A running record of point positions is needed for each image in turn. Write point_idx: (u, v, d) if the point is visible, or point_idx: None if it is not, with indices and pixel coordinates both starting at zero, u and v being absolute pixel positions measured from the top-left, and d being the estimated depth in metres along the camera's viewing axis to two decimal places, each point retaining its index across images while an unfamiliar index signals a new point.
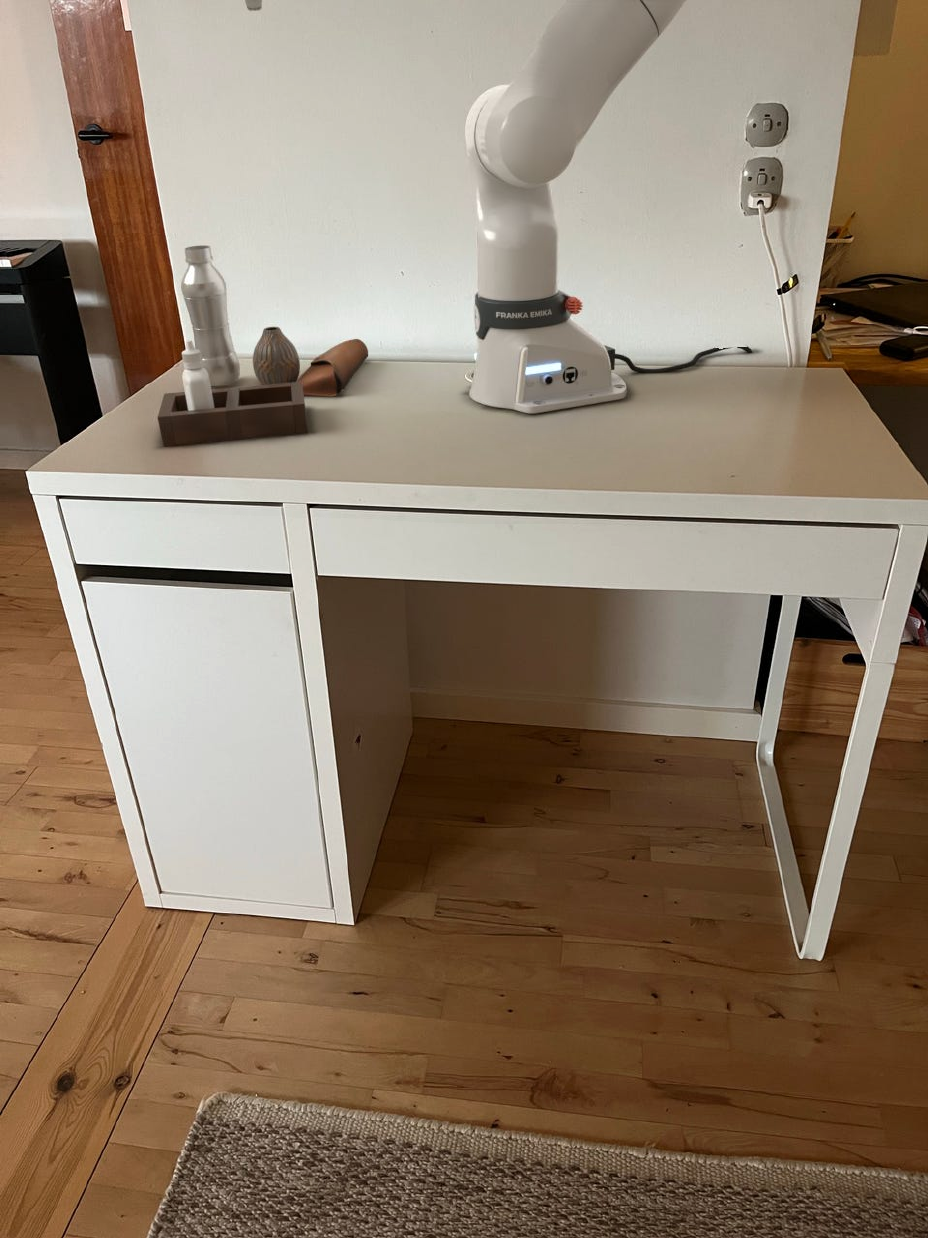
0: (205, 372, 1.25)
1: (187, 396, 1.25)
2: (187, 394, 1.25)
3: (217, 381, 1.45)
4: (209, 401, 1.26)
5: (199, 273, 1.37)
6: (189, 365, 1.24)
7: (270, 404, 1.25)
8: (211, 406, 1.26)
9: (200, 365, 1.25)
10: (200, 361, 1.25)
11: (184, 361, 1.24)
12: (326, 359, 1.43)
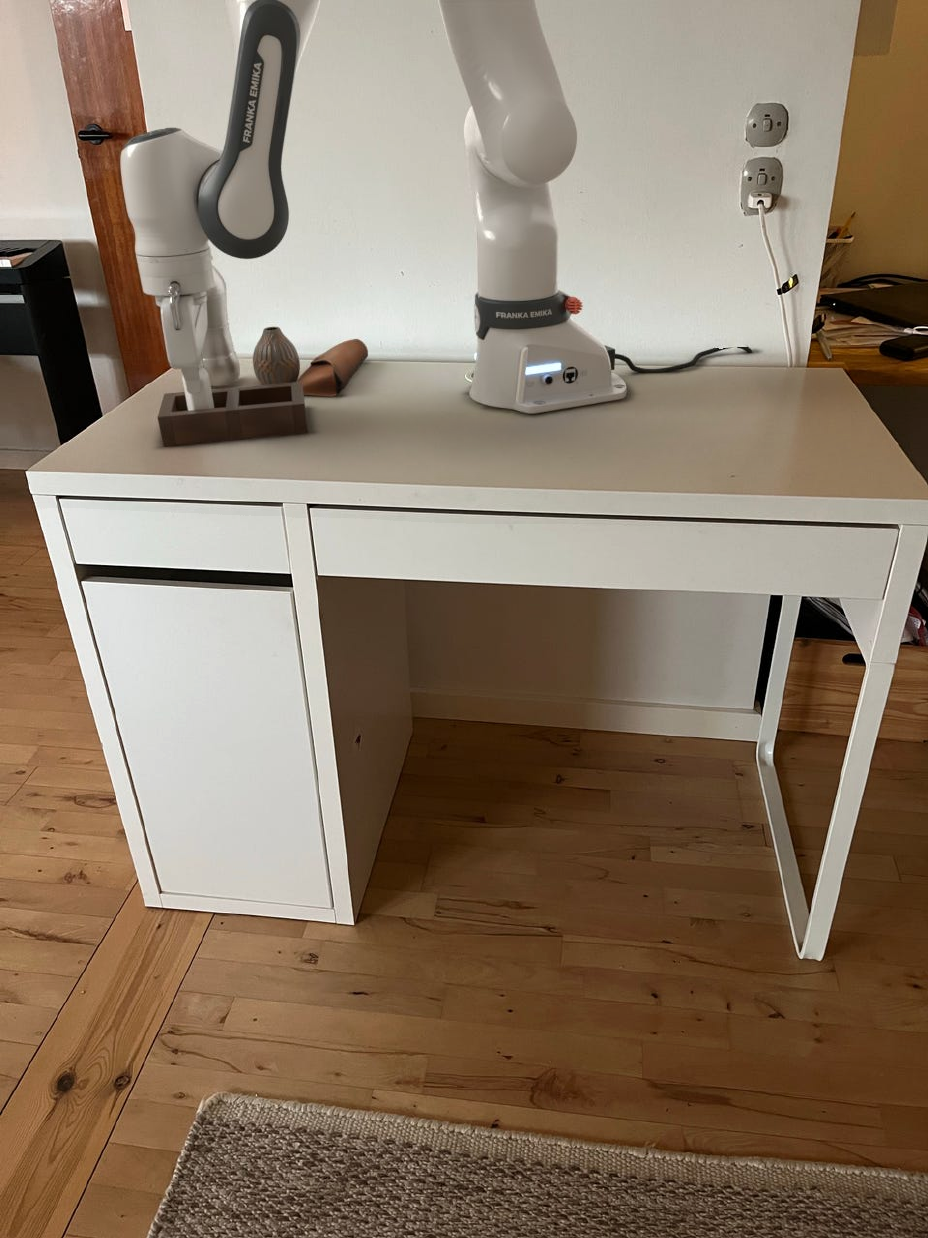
0: (205, 372, 1.25)
1: (187, 396, 1.25)
2: (187, 394, 1.25)
3: (217, 381, 1.45)
4: (209, 401, 1.26)
5: None
6: None
7: (270, 404, 1.25)
8: (211, 406, 1.26)
9: (200, 365, 1.25)
10: (200, 361, 1.25)
11: None
12: (326, 359, 1.43)
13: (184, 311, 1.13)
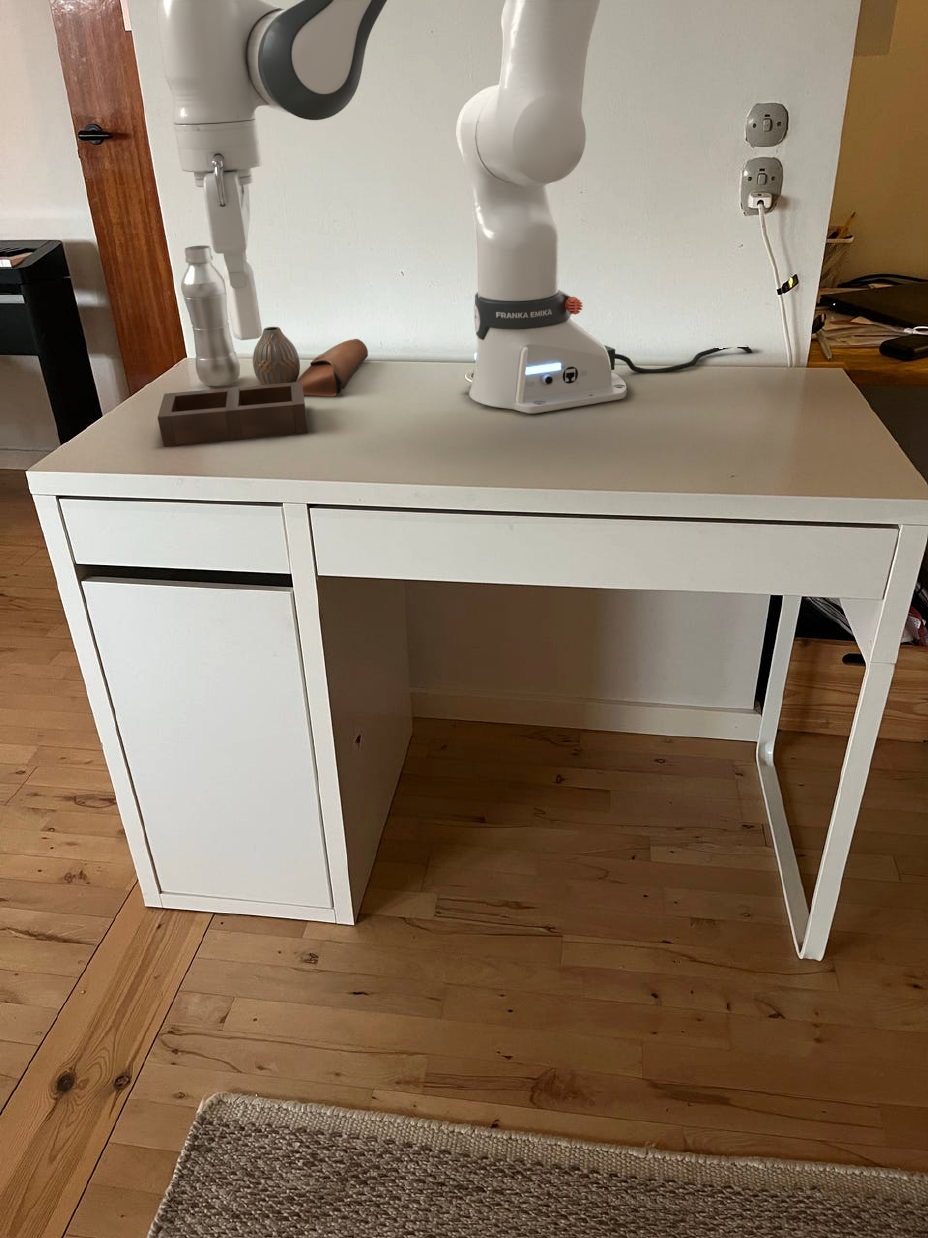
0: (249, 266, 1.12)
1: (229, 293, 1.12)
2: (229, 290, 1.11)
3: (217, 381, 1.45)
4: (254, 299, 1.12)
5: (199, 273, 1.37)
6: None
7: (270, 404, 1.25)
8: (256, 305, 1.13)
9: (244, 258, 1.11)
10: (244, 253, 1.11)
11: None
12: (326, 359, 1.43)
13: (231, 185, 1.00)
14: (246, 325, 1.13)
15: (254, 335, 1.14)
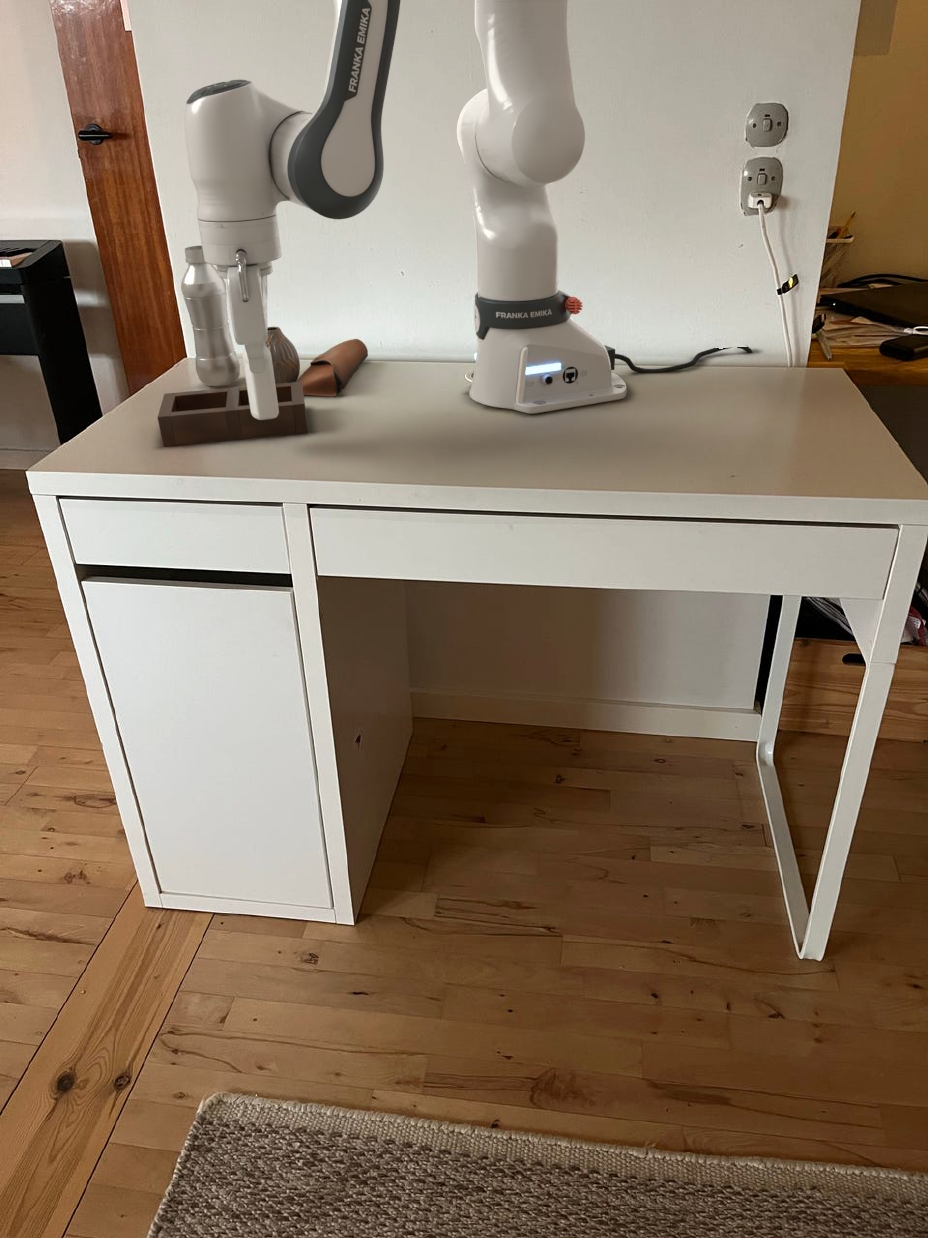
0: (268, 350, 1.15)
1: (248, 376, 1.16)
2: (248, 374, 1.15)
3: (217, 381, 1.45)
4: (272, 382, 1.16)
5: (199, 273, 1.37)
6: None
7: None
8: (273, 387, 1.17)
9: None
10: None
11: None
12: (326, 359, 1.43)
13: (253, 281, 1.03)
14: (264, 406, 1.17)
15: (271, 415, 1.18)
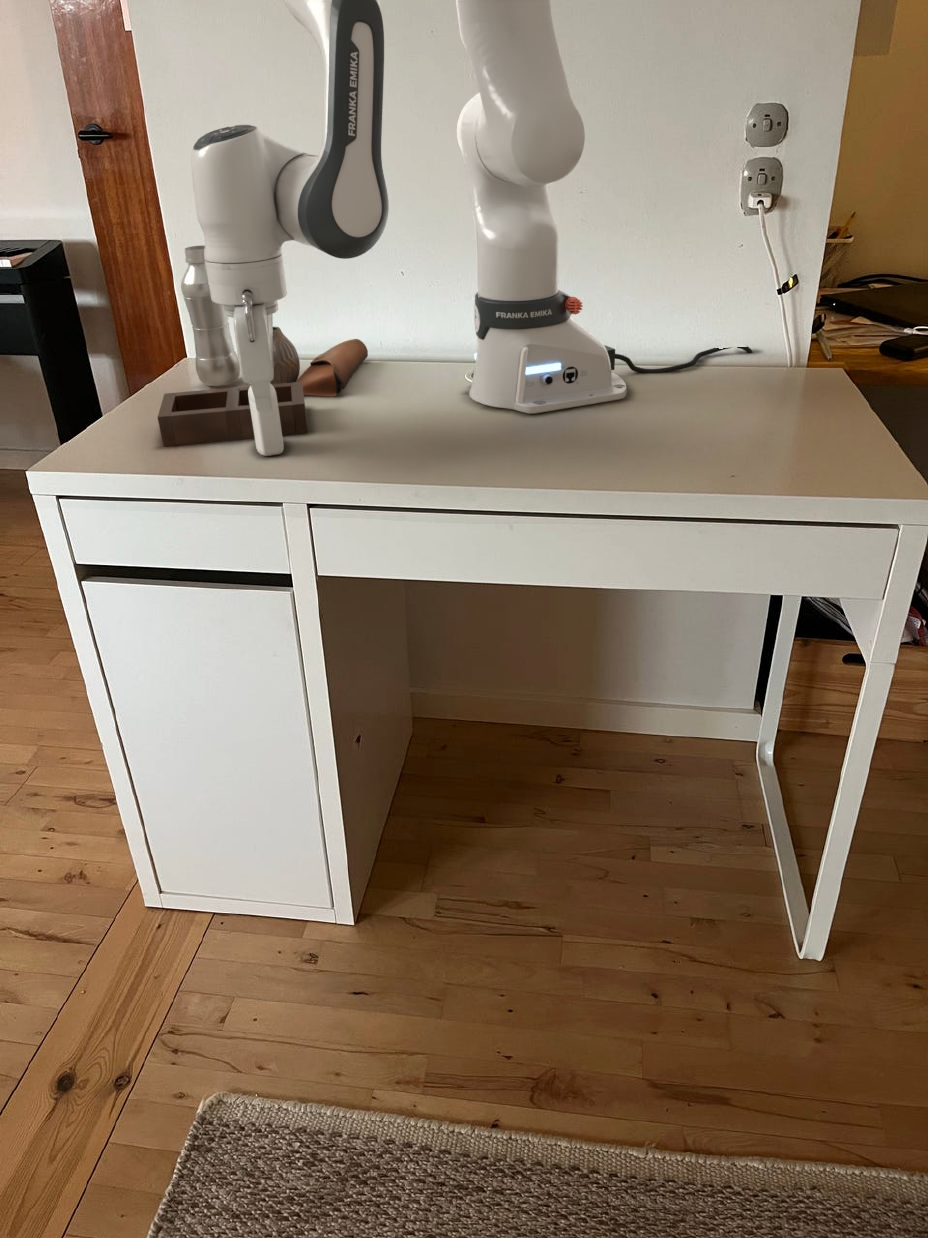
0: (273, 388, 1.18)
1: (253, 414, 1.18)
2: (254, 412, 1.18)
3: (217, 381, 1.45)
4: (277, 419, 1.18)
5: (199, 273, 1.37)
6: None
7: None
8: (278, 424, 1.19)
9: None
10: None
11: None
12: (326, 359, 1.43)
13: (259, 322, 1.06)
14: (269, 443, 1.19)
15: (276, 452, 1.20)
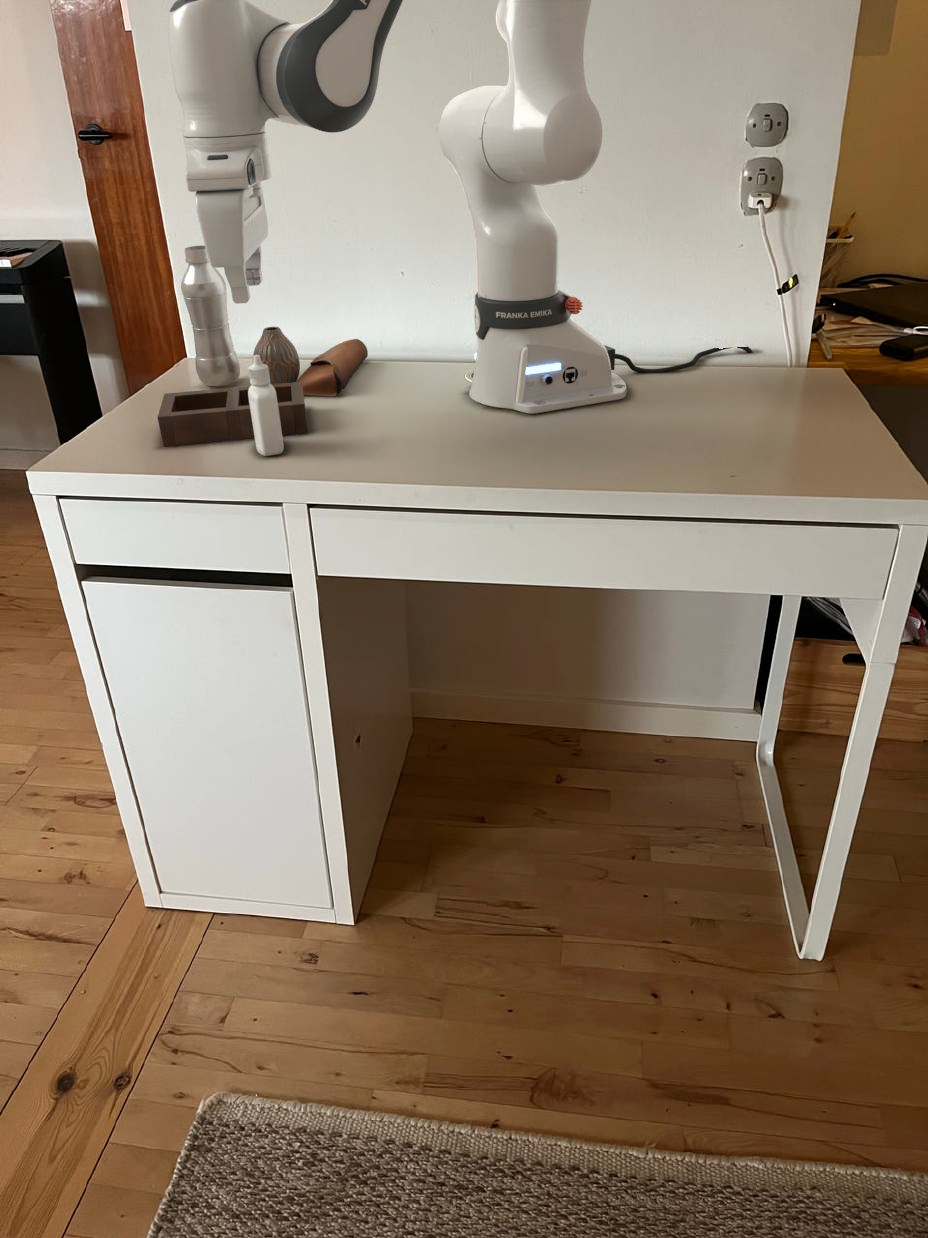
0: (273, 388, 1.18)
1: (253, 414, 1.18)
2: (254, 412, 1.18)
3: (217, 381, 1.45)
4: (277, 419, 1.18)
5: (199, 273, 1.37)
6: (256, 381, 1.17)
7: None
8: (278, 424, 1.19)
9: (268, 381, 1.17)
10: (268, 377, 1.17)
11: (251, 377, 1.17)
12: (326, 359, 1.43)
13: None
14: (269, 443, 1.19)
15: (276, 452, 1.20)
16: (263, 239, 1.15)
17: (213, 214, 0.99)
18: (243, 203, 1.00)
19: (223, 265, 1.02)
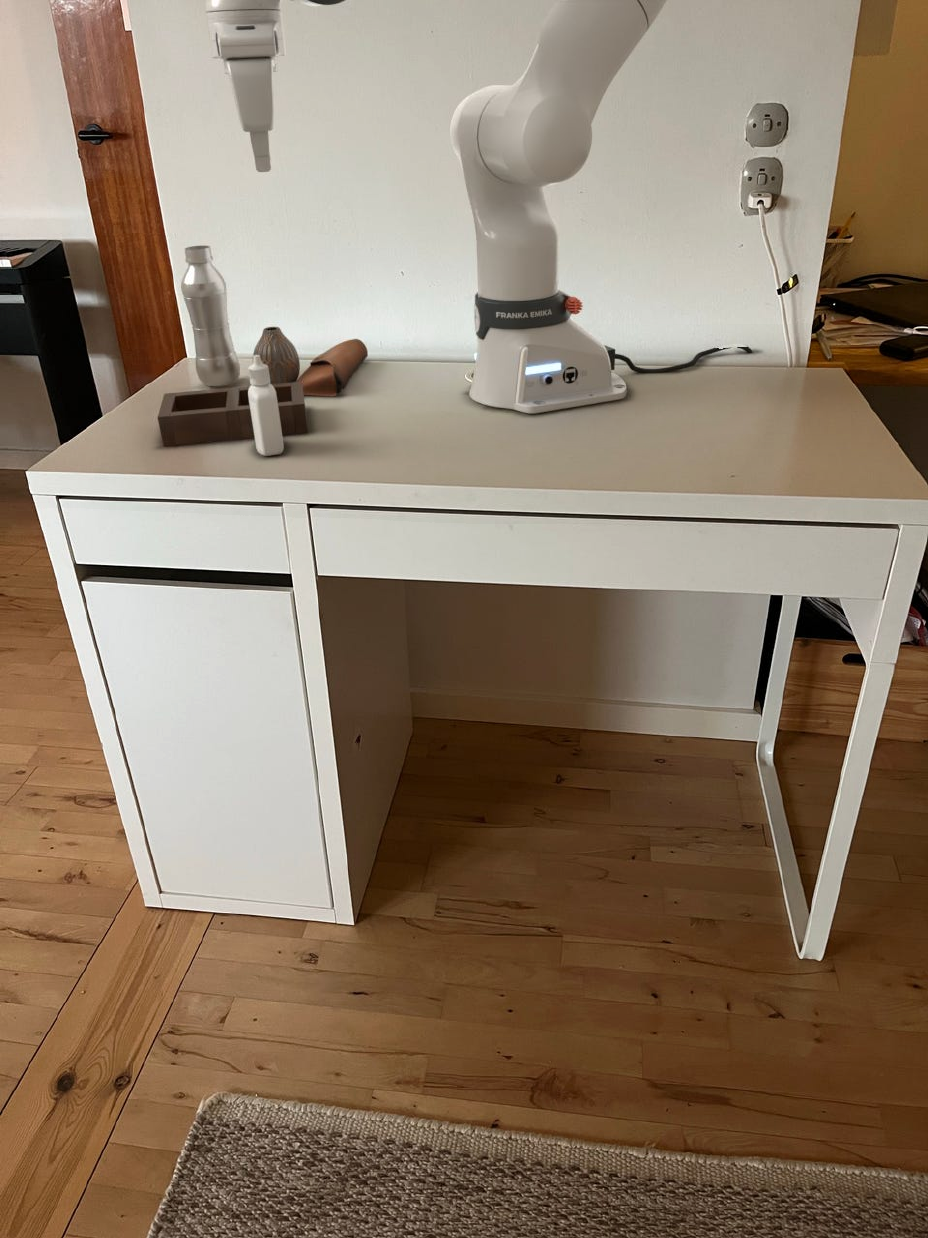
0: (273, 388, 1.18)
1: (253, 414, 1.18)
2: (254, 412, 1.18)
3: (217, 381, 1.45)
4: (277, 419, 1.18)
5: (199, 273, 1.37)
6: (256, 381, 1.17)
7: None
8: (278, 424, 1.19)
9: (268, 381, 1.17)
10: (268, 377, 1.17)
11: (251, 377, 1.17)
12: (326, 359, 1.43)
13: None
14: (269, 443, 1.19)
15: (276, 452, 1.20)
16: None
17: (245, 78, 1.08)
18: (272, 70, 1.09)
19: (254, 129, 1.11)
